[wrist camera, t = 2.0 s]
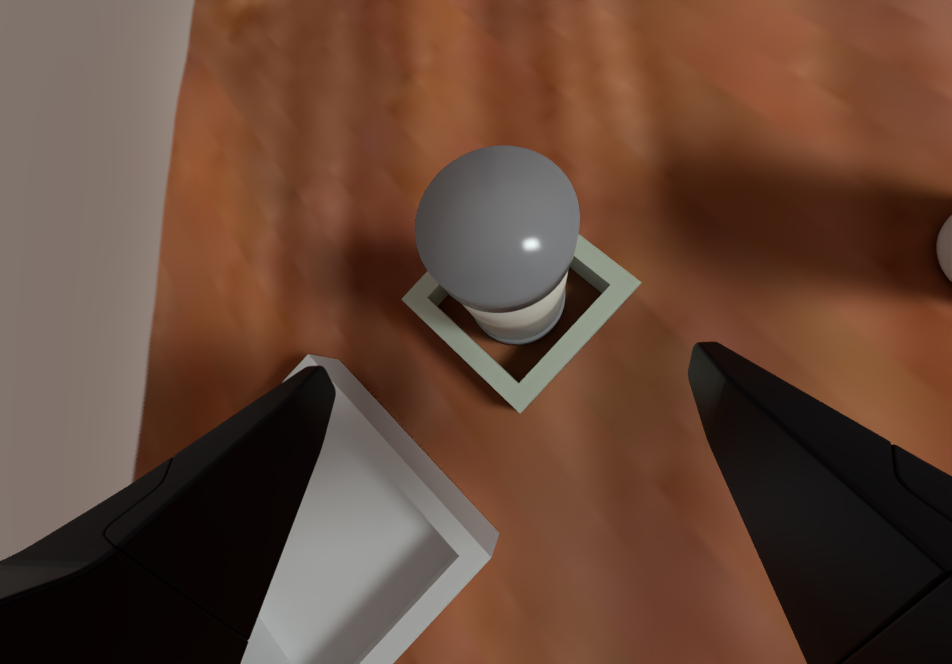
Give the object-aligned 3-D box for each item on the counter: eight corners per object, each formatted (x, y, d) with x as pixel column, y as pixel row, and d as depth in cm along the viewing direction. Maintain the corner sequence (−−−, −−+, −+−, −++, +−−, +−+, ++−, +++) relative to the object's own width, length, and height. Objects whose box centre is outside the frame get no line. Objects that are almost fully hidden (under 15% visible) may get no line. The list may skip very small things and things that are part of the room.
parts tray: (499, 533, 19) (491, 557, 17) (325, 721, 20) (286, 778, 17) (338, 359, 23) (308, 354, 20) (188, 521, 23) (135, 540, 20)
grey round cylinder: (583, 296, 21) (617, 208, 11) (520, 365, 21) (498, 337, 11) (515, 240, 22) (490, 116, 12) (455, 305, 22) (383, 232, 12)
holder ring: (632, 293, 20) (641, 282, 18) (522, 411, 20) (520, 413, 18) (513, 200, 22) (510, 181, 20) (413, 307, 22) (401, 299, 20)
